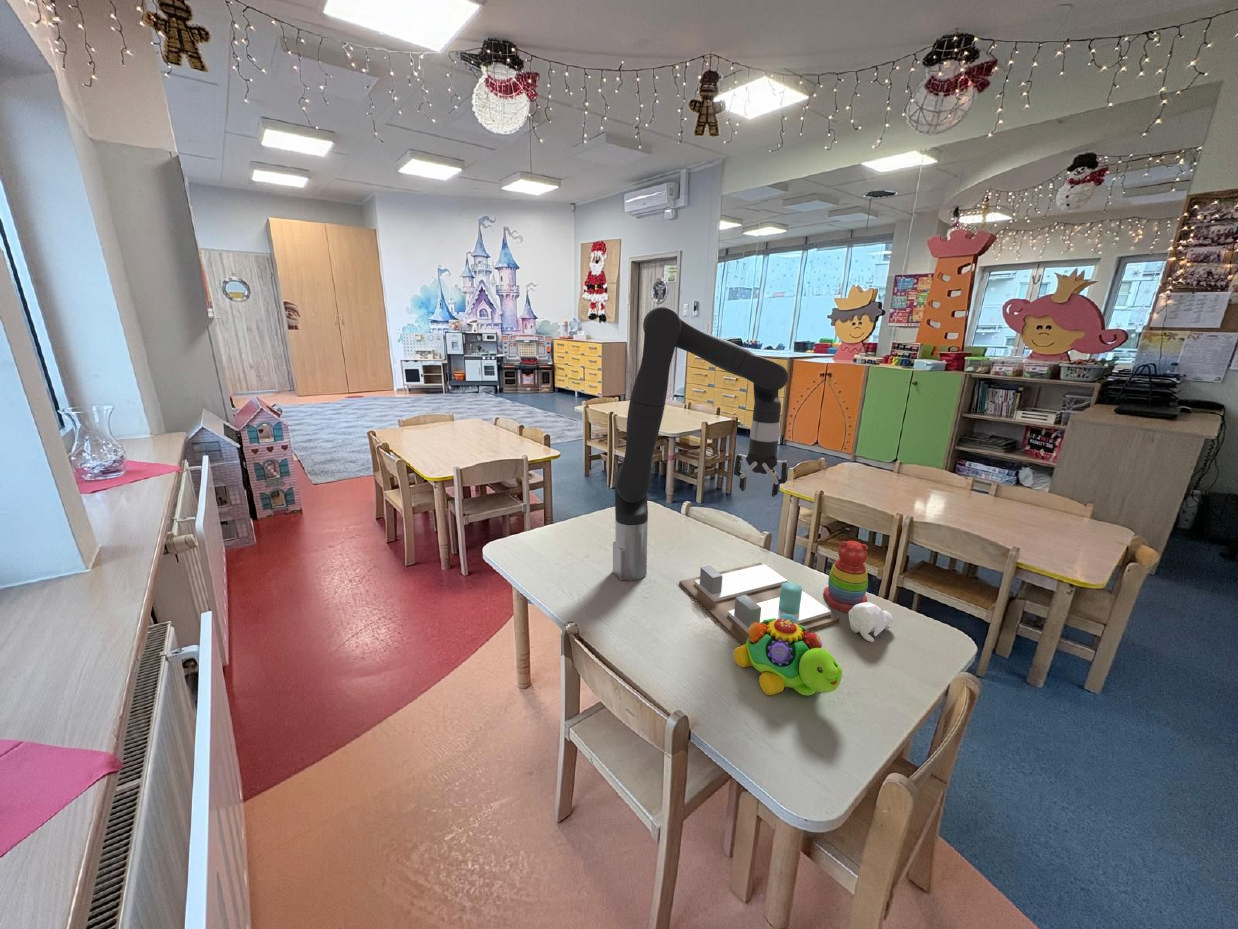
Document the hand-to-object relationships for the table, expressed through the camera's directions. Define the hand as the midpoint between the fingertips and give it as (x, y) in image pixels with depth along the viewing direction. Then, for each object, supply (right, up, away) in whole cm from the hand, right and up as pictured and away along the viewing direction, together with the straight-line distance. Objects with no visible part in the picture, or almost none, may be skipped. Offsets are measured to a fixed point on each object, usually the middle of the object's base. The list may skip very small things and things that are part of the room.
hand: (758, 493), depth 140 cm
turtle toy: (-3, -37, -34) cm, 51 cm away
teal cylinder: (+4, -28, -14) cm, 32 cm away
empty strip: (-5, -25, -1) cm, 26 cm away
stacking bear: (+21, -29, -7) cm, 36 cm away
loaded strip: (+1, -30, -15) cm, 33 cm away
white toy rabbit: (+22, -33, -19) cm, 44 cm away
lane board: (-3, -28, -7) cm, 30 cm away
